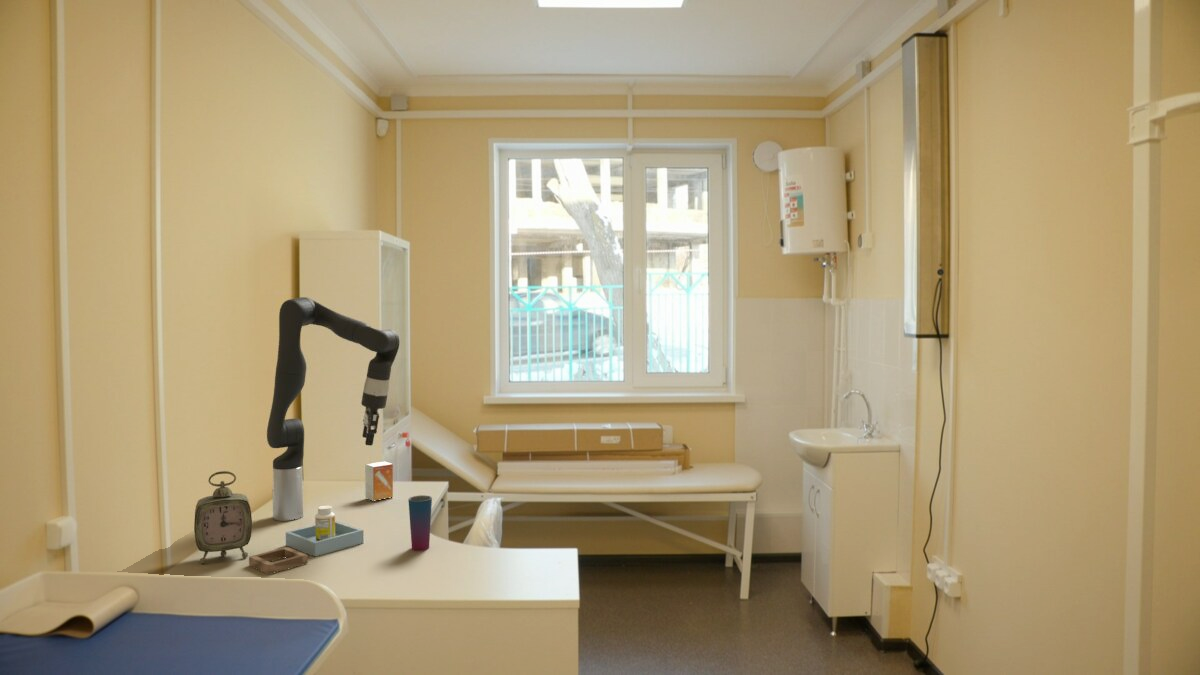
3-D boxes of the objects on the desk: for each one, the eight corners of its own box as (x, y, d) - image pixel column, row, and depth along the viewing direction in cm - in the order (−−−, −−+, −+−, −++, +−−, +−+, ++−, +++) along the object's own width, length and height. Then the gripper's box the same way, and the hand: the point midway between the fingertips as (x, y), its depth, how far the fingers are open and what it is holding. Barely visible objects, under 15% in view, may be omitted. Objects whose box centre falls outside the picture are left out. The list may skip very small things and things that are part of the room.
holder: (249, 565, 212) (248, 556, 212) (286, 555, 221) (286, 546, 220) (269, 574, 205) (269, 565, 205) (307, 563, 214) (307, 554, 214)
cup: (436, 546, 229) (436, 496, 228) (422, 553, 223) (422, 502, 222) (418, 543, 232) (418, 494, 231) (403, 549, 226) (403, 499, 225)
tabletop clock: (195, 567, 211) (193, 477, 209) (195, 557, 219) (193, 470, 217) (252, 559, 217) (251, 471, 216) (250, 549, 225) (249, 465, 224)
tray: (285, 545, 229) (285, 532, 229) (333, 532, 242) (333, 520, 242) (315, 556, 219) (315, 543, 219) (363, 543, 232) (363, 530, 232)
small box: (373, 502, 278) (373, 466, 278) (365, 499, 283) (364, 464, 282) (393, 498, 284) (393, 463, 283) (385, 495, 288) (384, 460, 288)
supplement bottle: (329, 536, 235) (328, 503, 234) (338, 540, 231) (338, 506, 231) (312, 540, 231) (311, 507, 230) (321, 544, 227) (321, 510, 226)
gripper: (361, 385, 248) (352, 434, 249) (365, 395, 235) (357, 446, 236) (384, 388, 251) (376, 436, 252) (390, 398, 238) (382, 448, 239)
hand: (367, 441), depth 244 cm, fingers open, 8 cm apart
